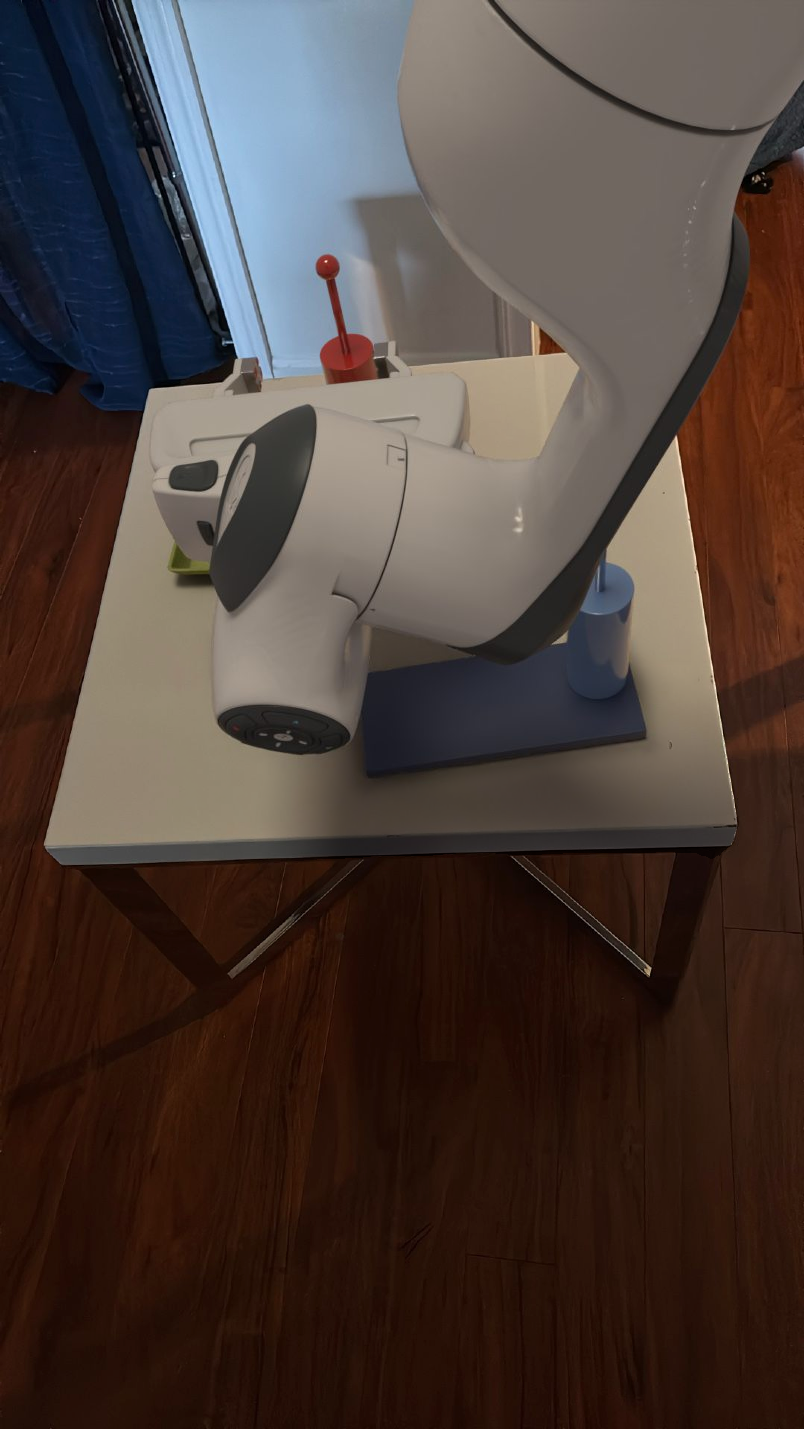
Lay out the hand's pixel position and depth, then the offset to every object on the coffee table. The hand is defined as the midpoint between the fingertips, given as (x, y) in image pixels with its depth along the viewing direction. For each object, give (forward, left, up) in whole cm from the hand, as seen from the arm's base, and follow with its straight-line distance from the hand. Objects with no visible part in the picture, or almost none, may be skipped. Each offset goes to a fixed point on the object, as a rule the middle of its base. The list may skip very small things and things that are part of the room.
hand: (317, 357), depth 70 cm
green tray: (+11, -3, -20) cm, 23 cm away
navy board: (-9, +17, -20) cm, 28 cm away
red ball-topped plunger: (-1, -12, -19) cm, 22 cm away
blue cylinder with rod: (-16, +16, -19) cm, 30 cm away
